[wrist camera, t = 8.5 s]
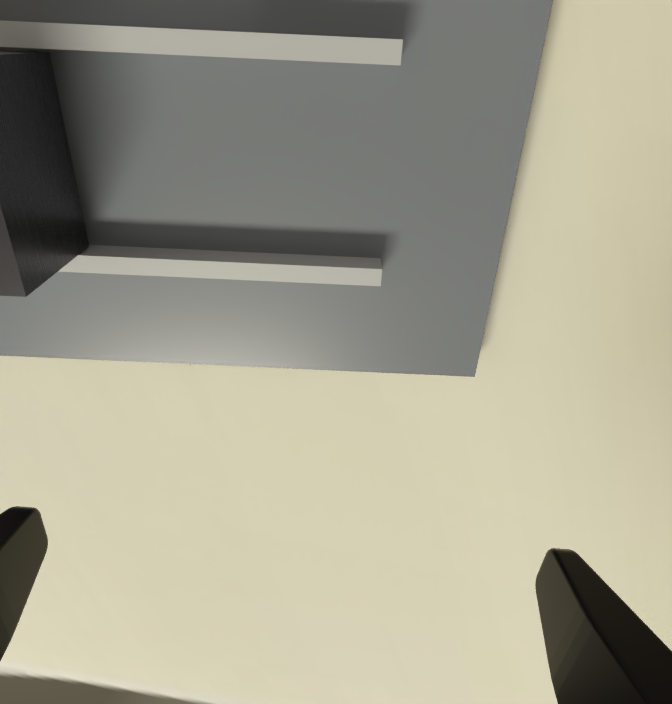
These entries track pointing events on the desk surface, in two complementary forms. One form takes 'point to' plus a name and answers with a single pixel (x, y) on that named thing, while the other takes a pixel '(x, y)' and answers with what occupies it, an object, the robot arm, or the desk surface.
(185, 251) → the board
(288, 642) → the desk surface
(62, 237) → the grey block
